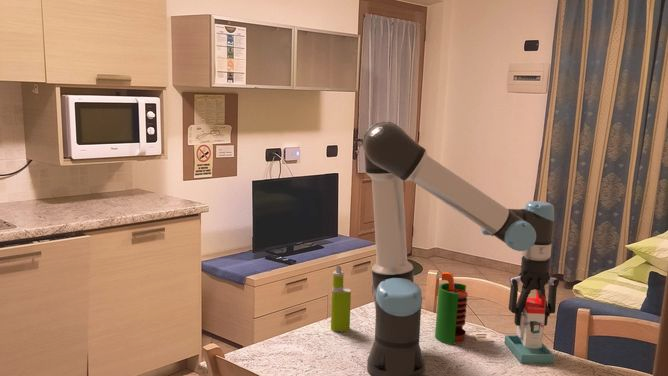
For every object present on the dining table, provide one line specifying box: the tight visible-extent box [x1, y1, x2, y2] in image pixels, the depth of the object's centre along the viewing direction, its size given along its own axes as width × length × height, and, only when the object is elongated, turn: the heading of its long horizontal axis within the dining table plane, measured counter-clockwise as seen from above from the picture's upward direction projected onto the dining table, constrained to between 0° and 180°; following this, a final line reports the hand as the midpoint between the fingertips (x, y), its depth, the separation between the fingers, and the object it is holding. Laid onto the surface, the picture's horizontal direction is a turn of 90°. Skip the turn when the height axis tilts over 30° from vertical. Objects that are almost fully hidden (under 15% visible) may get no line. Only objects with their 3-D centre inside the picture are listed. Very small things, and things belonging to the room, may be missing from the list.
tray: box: [504, 334, 555, 365], centre depth 165 cm, size 9×13×2 cm
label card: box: [471, 331, 495, 343], centre depth 175 cm, size 5×6×1 cm
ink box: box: [516, 290, 547, 348], centre depth 164 cm, size 8×5×15 cm, turn 178°
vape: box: [330, 265, 352, 332], centre depth 177 cm, size 4×6×20 cm, turn 92°
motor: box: [434, 271, 469, 346], centre depth 173 cm, size 10×9×20 cm
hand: (529, 335), depth 165 cm, fingers closed on ink box, 5 cm apart
